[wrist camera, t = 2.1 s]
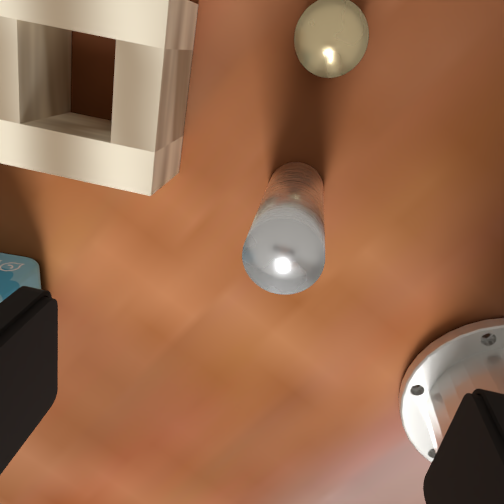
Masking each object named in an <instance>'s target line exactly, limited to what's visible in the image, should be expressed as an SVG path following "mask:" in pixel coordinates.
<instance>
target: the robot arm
mask: <svg viewBox="0 0 504 504" xmlns="http://www.w3.org/2000/svg"><path fill="white" fill-rule="evenodd" d="M57 360H58V305H57V301H56V300H55V299H52V297H51V294H50V292H49V291H46V290H41V289H37V288H33V287H28V286H22V287H20V288H18V289H17V290H16V291H15V292H13V293H12V294H11V295H10V296H8V297H7V298H6V299H5V300H3V301H2V302H1V303H0V474H1V473H2V472H3V470H4V469H5V468H6V466H7V465H8V464H9V462H10V461H11V460H12V458H13V457H14V456H15V454H16V453H17V452H18V450H19V449H20V448H21V446H22V445H23V444H24V442H25V441H26V440H27V438H28V437H29V436H30V434H31V433H32V432H33V430H34V429H35V428H36V426H37V425H38V424H39V422H40V421H41V419H42V418H43V417H44V415H45V414H46V413H47V411H48V410H49V409H50V407H51V406H52V404H53V403H54V400H55V398H56V395H57ZM399 411H400V415H401V420H402V425H403V427H404V430H405V432H406V434H407V437H408V439H409V440H410V441H411V443H412V444H413V445H414V447H415V448H416V450H417V451H418V452H419V453H421V454H422V455H423V456H424V457H425V458H426V459H427V460H429V461H430V462H432V463H431V465H430V467H429V470H428V472H427V474H426V476H425V479H424V486H423V489H424V497H425V501H426V504H504V318H498V319H488V320H483V321H479V322H475V323H471V324H467V325H464V326H462V327H460V328H457V329H455V330H453V331H450V332H448V333H446V334H445V335H443V336H441V337H440V338H438V339H437V340H435V341H433V342H432V343H431V344H429V345H428V346H427V347H426V348H425V349H424V350H423V351H422V352H421V353H419V354H418V356H417V357H416V358H415V360H414V361H413V362H412V364H411V365H410V366H409V367H408V369H407V371H406V374H405V376H404V378H403V380H402V382H401V387H400V392H399Z"/></svg>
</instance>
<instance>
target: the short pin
mask: <svg viewBox="0 0 504 504" xmlns="http://www.w3.org/2000/svg"><path fill="white" fill-rule="evenodd" d="M368 39H369V30H368V24H367V21H366V18H365V16H364V14H363V13H362V11H361V10H360V9H359V7H358V6H357V5H355V4H354V3H353V2H351V1H350V0H318V1H316V2H315V3H313V4H312V5H310V6H309V7H308V8H307V9H306V10H305V11H304V13H303V14H302V15H301V17H300V19H299V21H298V23H297V26H296V29H295V35H294V45H295V51H296V54H297V57H298V59H299V61H300V62H301V64H302V65H303V66H304V67H305V68H306V69H307V70H308V71H309V72H311V73H313V74H314V75H317V76H320V77H325V78H333V77H338V76H341V75H343V74H346V73H347V72H349V71H350V70H352V69H353V68H354V67H355V66H356V65H357V64H358V63H359V62H360V60H361V59H362V57H363V55H364V53H365V51H366V48H367V45H368Z"/></svg>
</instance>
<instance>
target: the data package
mask: <svg viewBox="0 0 504 504" xmlns="http://www.w3.org/2000/svg"><path fill="white" fill-rule="evenodd" d="M22 286H28V287H33V288H37V289H41V280H40V269H39V264H38V263H37V262H36V261H35V260H33V259H31V258H28V257H23V256H17V255H11V254H5V253H0V303H1V302H2V301H3V300H5V299H6V298H7V297H8V296H10V295H11V294H12V293H13V292H15V291H16V290H17V289H18V288H20V287H22Z"/></svg>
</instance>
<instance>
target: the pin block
mask: <svg viewBox="0 0 504 504" xmlns="http://www.w3.org/2000/svg"><path fill="white" fill-rule="evenodd" d="M197 12H198V4H196V3H194V2H192V1H189V0H0V163H2V164H6V165H11V166H15V167H20V168H25V169H29V170H34V171H38V172H43V173H48V174H52V175H57V176H61V177H66V178H71V179H75V180H80V181H84V182H89V183H93V184H98V185H103V186H107V187H112V188H116V189H121V190H126V191H130V192H135V193H139V194H144V195H148V196H151V195H153V194H154V193H155V192H156V191H157V190H159V189H160V188H161V187H162V186H163V185H165V184H166V183H167V182H168V181H169V180H171V179H172V178H173V177H174V176H175V175H177V174H178V173H179V167H180V158H181V150H182V141H183V133H184V124H185V115H186V107H187V98H188V90H189V81H190V72H191V64H192V55H193V46H194V38H195V29H196V21H197ZM72 31H77V32H82V33H87V34H92V35H97V36H102V37H107V38H112V39H116V49H115V68H114V87H113V107H112V121H110V120H106V119H101V118H96V117H91V116H87V115H82V114H77V113H72V112H71V54H72Z"/></svg>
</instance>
